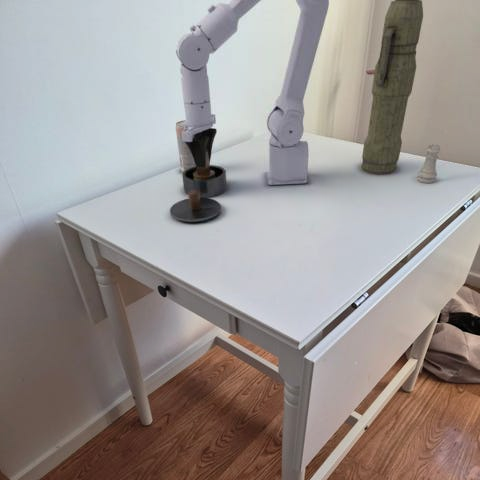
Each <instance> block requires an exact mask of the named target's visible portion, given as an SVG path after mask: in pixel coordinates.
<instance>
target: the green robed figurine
mask: <svg viewBox="0 0 480 480" xmlns="http://www.w3.org/2000/svg"><path fill="white" fill-rule="evenodd" d="M423 7H424V6H423V0H392V1H390V4H389V7H388V8H387V11H386V14H385V17H384V22H383V29H382V37H381V43H380V44H381V46H380V51H379V56H378V57H379V58H378V59H377V62H376V64H375V67H374V72H373V80H372V86H371V95H372V101H371V108H370V115H369V122H368V129H367V136H366V137H365V140H364V141H363V149H362V154H361V155H362V156H361V159H362V163H361V168H360V169H361V171H363V172H365V173H367V174H371V175H381V176H383V175H385V176H386V175H391V174H393V173H395V172H396V170H397V164H398V162H399V159H400V154H401V150H402V144H403V141H402V132H403V127H404V121H405V117H406V111H407V106H408V101H409V98H410V96H411V94H412V93H413V92H412V91H413V86H414V81H415V77H416V71H417V59H416V55H417V45H418V44H419V39H420V35H421V29H422V25H423V19H424V8H423Z"/></svg>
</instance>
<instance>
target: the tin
mask: <svg viewBox="0 0 480 480" xmlns="http://www.w3.org/2000/svg"><path fill="white" fill-rule="evenodd" d="M210 170H213V171H214V172H215V178H213V179H208V180H194V177H193V173H194V172H196V171H197V167H196V166H195V167H192V168H189V169H187V170H185V171H184V172H182V174H181V177H182V184H183V191H184V193H185V194H186V195H187V196H188V192H189V191H192V190H197V191H199V195H200V198H212V197H216V196H219V195H221V194H224V192H226V190H227V187H228V185H227V184H228V183H227V171H226V169H225V168H224V167H222V166H219V165H215V164H213V165H212V164H210Z"/></svg>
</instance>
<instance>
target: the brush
mask: <svg viewBox="0 0 480 480" xmlns="http://www.w3.org/2000/svg"><path fill="white" fill-rule="evenodd" d="M210 163H211V161H210V162H209V150H206V165H205V167H197V171H196V172H194V173H193V177H194V180H208V179H213V178H215V172H214V171H213V170H210V165H211V164H210Z"/></svg>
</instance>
